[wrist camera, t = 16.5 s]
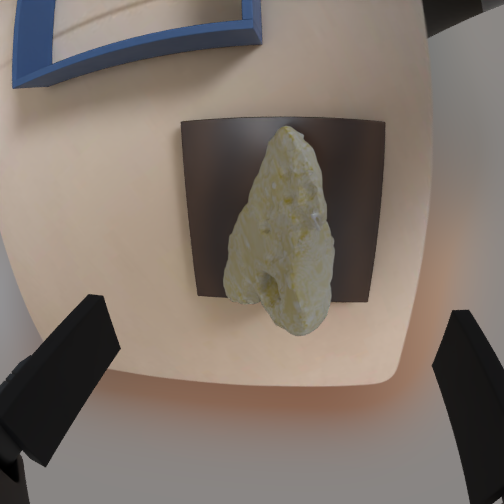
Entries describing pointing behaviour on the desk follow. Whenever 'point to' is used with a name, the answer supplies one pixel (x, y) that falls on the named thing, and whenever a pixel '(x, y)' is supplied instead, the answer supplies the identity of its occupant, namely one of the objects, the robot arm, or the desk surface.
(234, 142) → the board
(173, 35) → the blue rectangular frame
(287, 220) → the pale grey rough stone
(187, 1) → the desk surface
